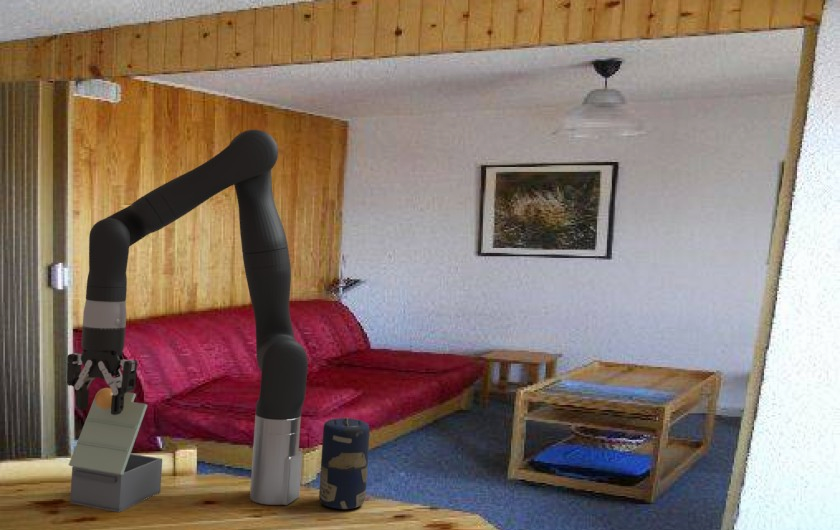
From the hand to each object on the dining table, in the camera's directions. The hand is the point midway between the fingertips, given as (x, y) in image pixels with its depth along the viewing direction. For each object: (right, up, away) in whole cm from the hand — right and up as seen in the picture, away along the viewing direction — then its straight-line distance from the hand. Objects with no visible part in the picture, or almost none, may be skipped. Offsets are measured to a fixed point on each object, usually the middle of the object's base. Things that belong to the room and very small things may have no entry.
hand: (98, 411), depth 146 cm
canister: (+45, -22, +12) cm, 51 cm away
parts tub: (+1, -18, +7) cm, 20 cm away
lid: (+1, -5, +4) cm, 6 cm away
